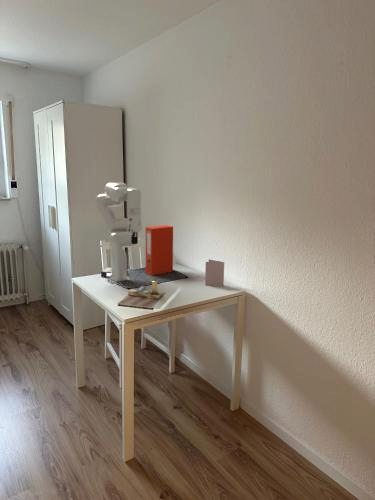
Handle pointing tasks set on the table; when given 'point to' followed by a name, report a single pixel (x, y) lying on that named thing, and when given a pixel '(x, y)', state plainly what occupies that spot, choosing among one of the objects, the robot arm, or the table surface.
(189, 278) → the table surface
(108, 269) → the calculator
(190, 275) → the table surface
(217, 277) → the greeting card
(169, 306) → the table surface
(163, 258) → the file binder
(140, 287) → the bracket
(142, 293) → the link
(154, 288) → the pin
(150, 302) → the base plate
